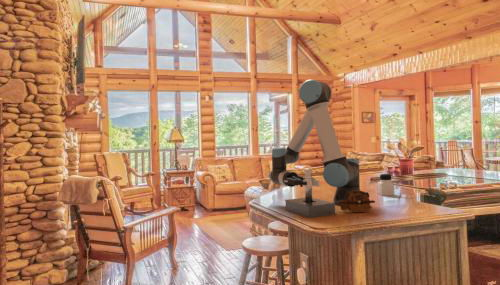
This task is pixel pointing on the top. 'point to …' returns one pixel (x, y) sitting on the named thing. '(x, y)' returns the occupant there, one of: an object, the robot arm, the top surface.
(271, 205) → the top surface
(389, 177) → the medicine bottle
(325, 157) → the robot arm
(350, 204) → the wooden carving
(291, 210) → the pin block
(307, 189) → the pin
